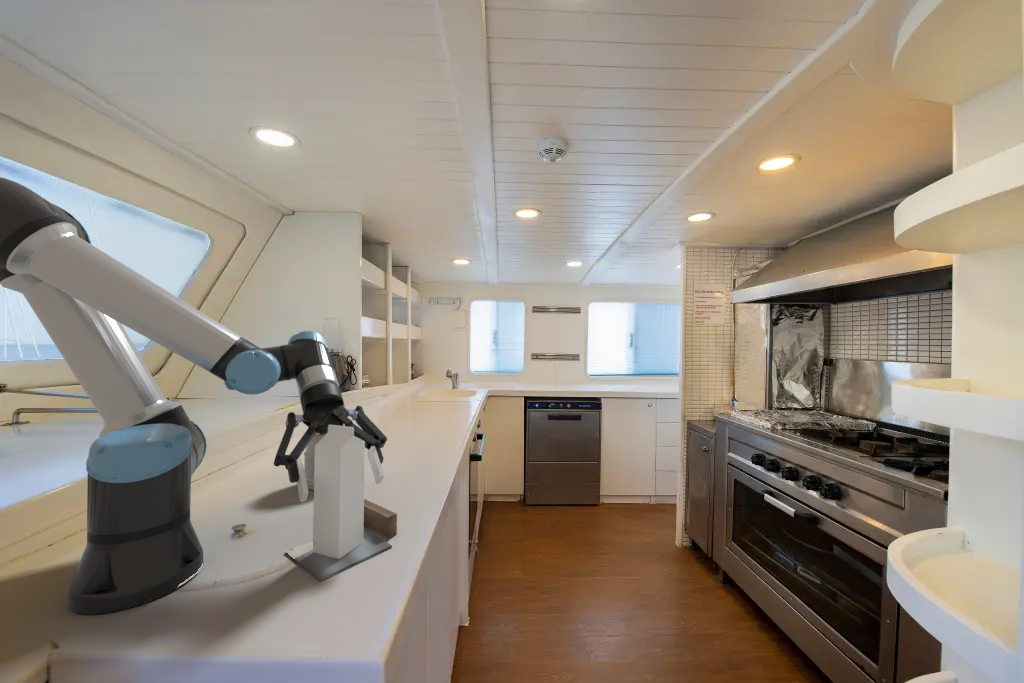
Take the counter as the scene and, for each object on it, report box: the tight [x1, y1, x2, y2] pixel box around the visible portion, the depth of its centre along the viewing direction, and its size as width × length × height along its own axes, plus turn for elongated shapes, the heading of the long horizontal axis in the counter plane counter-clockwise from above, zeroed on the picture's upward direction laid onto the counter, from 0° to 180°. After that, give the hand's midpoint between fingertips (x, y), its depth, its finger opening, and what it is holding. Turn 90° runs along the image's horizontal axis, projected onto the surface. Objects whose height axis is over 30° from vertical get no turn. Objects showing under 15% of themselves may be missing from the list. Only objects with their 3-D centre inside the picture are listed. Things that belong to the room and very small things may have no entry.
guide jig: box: [294, 498, 398, 582], centre depth 75 cm, size 16×26×4 cm, turn 52°
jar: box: [303, 424, 345, 491], centre depth 104 cm, size 13×13×18 cm
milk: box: [312, 425, 366, 559], centre depth 70 cm, size 6×6×22 cm
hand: (344, 488), depth 68 cm, fingers open, 12 cm apart
